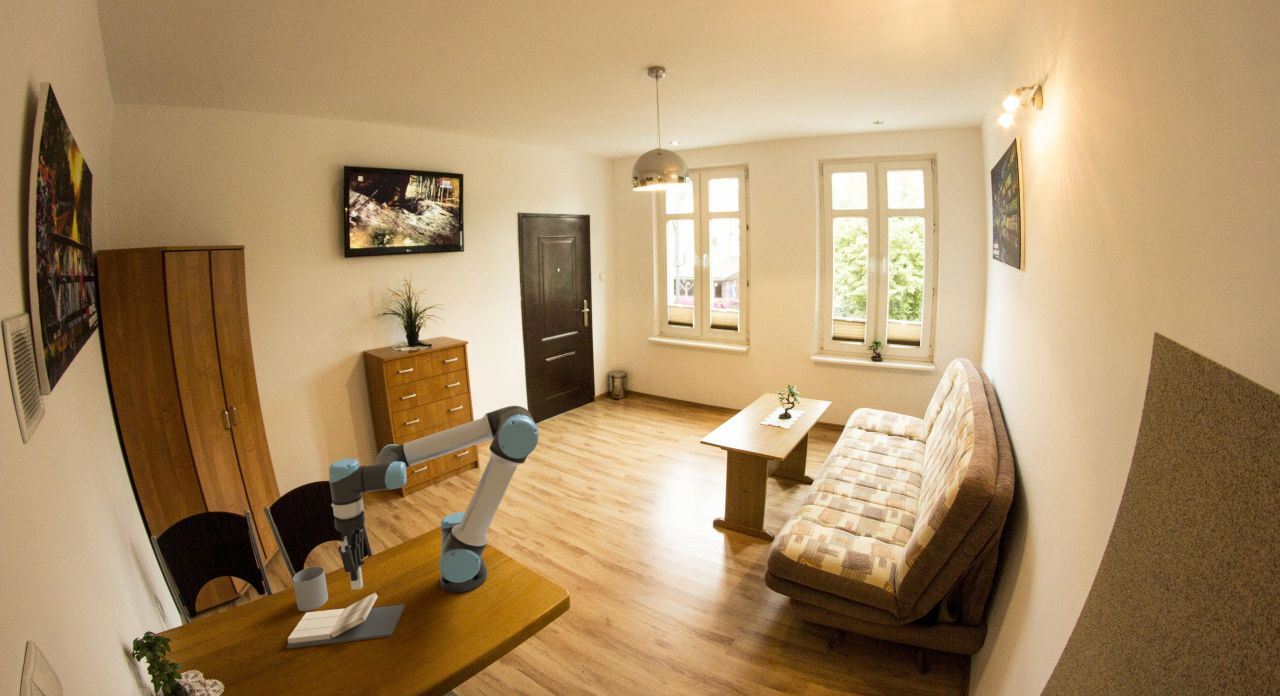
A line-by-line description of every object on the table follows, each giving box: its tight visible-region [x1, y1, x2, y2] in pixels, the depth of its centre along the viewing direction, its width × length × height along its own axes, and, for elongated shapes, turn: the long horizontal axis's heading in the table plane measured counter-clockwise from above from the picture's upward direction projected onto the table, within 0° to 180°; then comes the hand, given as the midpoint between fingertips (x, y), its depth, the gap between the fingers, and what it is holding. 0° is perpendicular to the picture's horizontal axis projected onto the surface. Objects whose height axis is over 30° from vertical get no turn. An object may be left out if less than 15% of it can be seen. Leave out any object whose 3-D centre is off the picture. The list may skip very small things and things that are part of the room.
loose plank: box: [330, 592, 379, 637], centre depth 155 cm, size 10×11×2 cm
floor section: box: [286, 604, 406, 650], centre depth 155 cm, size 28×13×2 cm, turn 98°
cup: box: [292, 565, 329, 612], centre depth 166 cm, size 8×8×10 cm
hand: (357, 587), depth 153 cm, fingers closed
